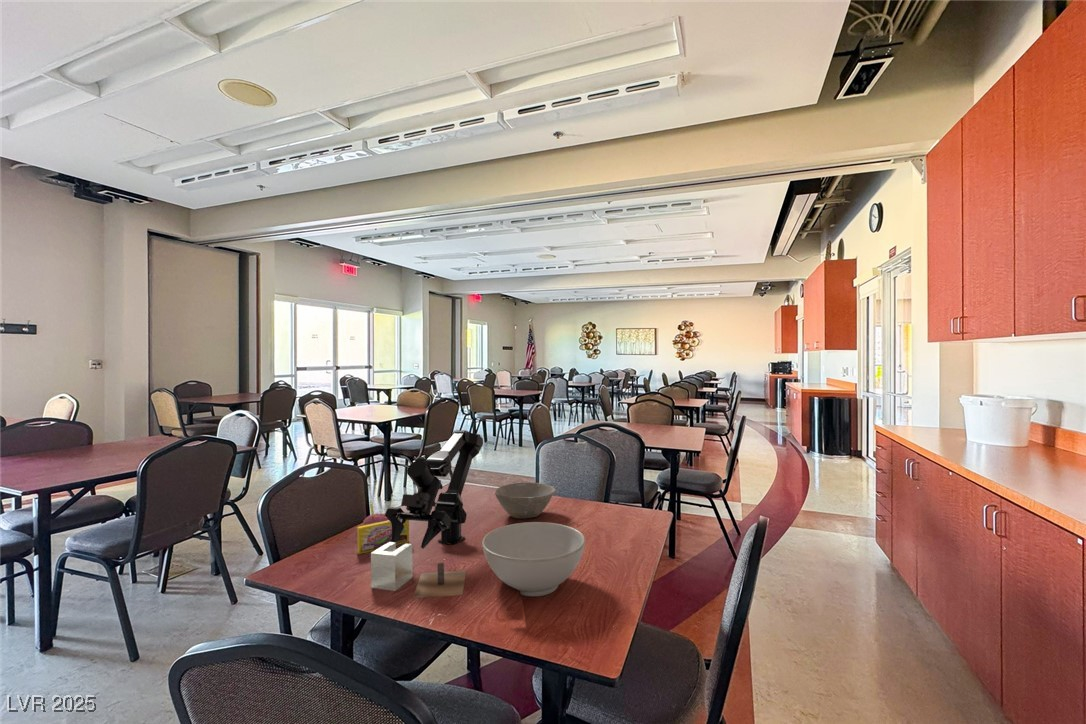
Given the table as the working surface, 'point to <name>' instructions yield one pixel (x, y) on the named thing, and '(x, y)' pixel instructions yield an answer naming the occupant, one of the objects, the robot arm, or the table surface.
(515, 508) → the ceramic bowl
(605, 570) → the table surface
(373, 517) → the pink sprinkled cake pop
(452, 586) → the peg stand
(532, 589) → the decorative bowl
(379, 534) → the candy box
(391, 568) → the c link
